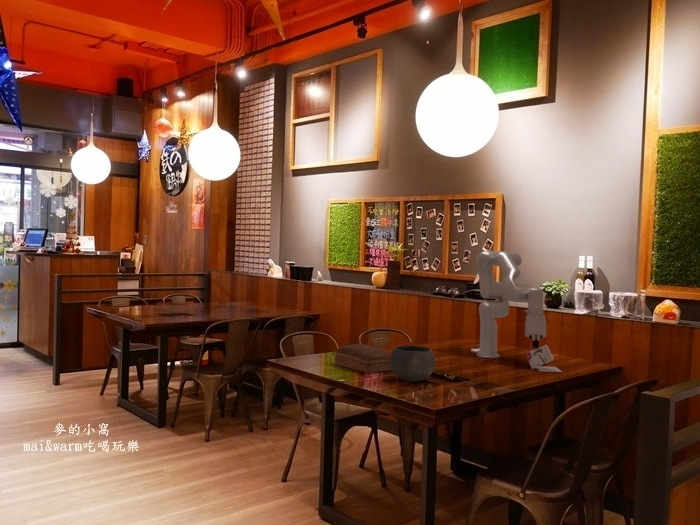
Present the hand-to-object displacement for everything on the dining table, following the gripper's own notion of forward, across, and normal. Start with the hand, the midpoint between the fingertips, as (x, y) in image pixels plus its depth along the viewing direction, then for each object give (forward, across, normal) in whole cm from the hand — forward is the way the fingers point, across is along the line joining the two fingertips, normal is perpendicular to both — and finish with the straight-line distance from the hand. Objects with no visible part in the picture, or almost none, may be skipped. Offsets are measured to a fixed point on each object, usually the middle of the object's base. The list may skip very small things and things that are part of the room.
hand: (535, 348), depth 311 cm
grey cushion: (+10, -88, -10) cm, 89 cm away
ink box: (+7, -3, +1) cm, 8 cm away
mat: (+11, +7, +2) cm, 13 cm away
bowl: (+11, -64, -37) cm, 75 cm away
